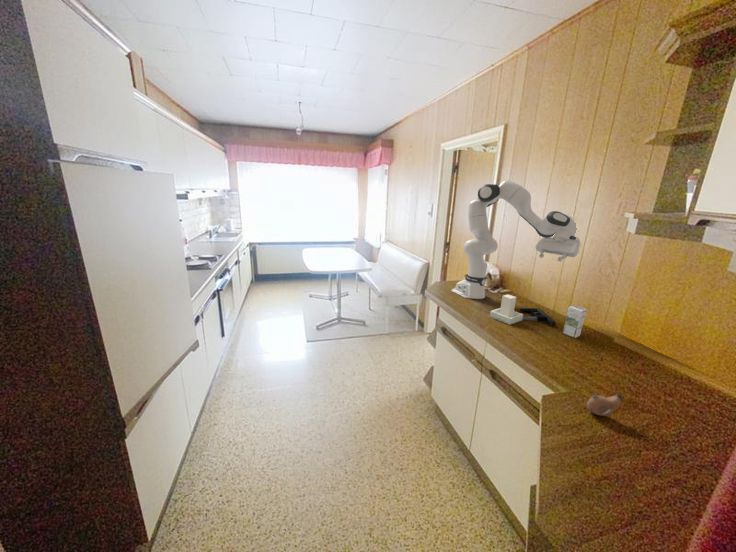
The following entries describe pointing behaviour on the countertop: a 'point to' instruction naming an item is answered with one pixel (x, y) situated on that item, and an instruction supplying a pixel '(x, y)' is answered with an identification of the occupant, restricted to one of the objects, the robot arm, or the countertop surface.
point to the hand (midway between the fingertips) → (549, 258)
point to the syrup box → (574, 321)
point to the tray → (505, 319)
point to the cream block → (508, 305)
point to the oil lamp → (603, 404)
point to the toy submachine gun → (541, 317)
